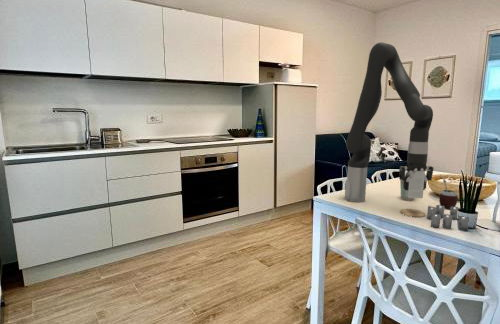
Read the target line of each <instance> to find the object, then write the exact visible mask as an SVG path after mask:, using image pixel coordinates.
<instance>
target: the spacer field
mask: <svg viewBox="0 0 500 324" xmlns="http://www.w3.org/2000/svg"><path fill="white" fill-rule="evenodd" d="M444 207H445V206H443V205H440V204H437V205H435V206H430V205H429V206H427V212H426V214H427V215H426V219H427V220H429V221H430V228H432V227H433V229H440V226H441V228H442V227H443V229H444V230H445V229H446V230H451V229H452V224H453V221H458V226H457V230H459V231H462V232H468V230H469V228H468V222H469V217H468V216H467V217H464V216H459V215H458V217H459V219H458V220H457V209H460V206H459V207H458V206H457V205H456V206H451V208H449V209H450V210H449V214H447V213H446V214H445V208H444ZM441 219H442V222H441ZM477 222H478V217H477V218H476V221H475V223H474V226H473V229H472V230H475V229H477ZM441 223H442V225H441Z"/></svg>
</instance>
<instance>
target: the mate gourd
mask: <svg viewBox="0 0 500 324" xmlns="http://www.w3.org/2000/svg"><path fill="white" fill-rule="evenodd" d="M439 176H440V177H441V178H442V181H443V182H444V187H445V189H443V190H441V191H440V194H439V205H443V206H445V207H444V209H446V210H447V211H448V210H449V209H451V206H456V207H457V203H458V194H457V192H456V191H455V190H451V189H448V187H447V182H446V179H445V177H444V176H443V175H442V174H439ZM449 211H450V210H449Z"/></svg>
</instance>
